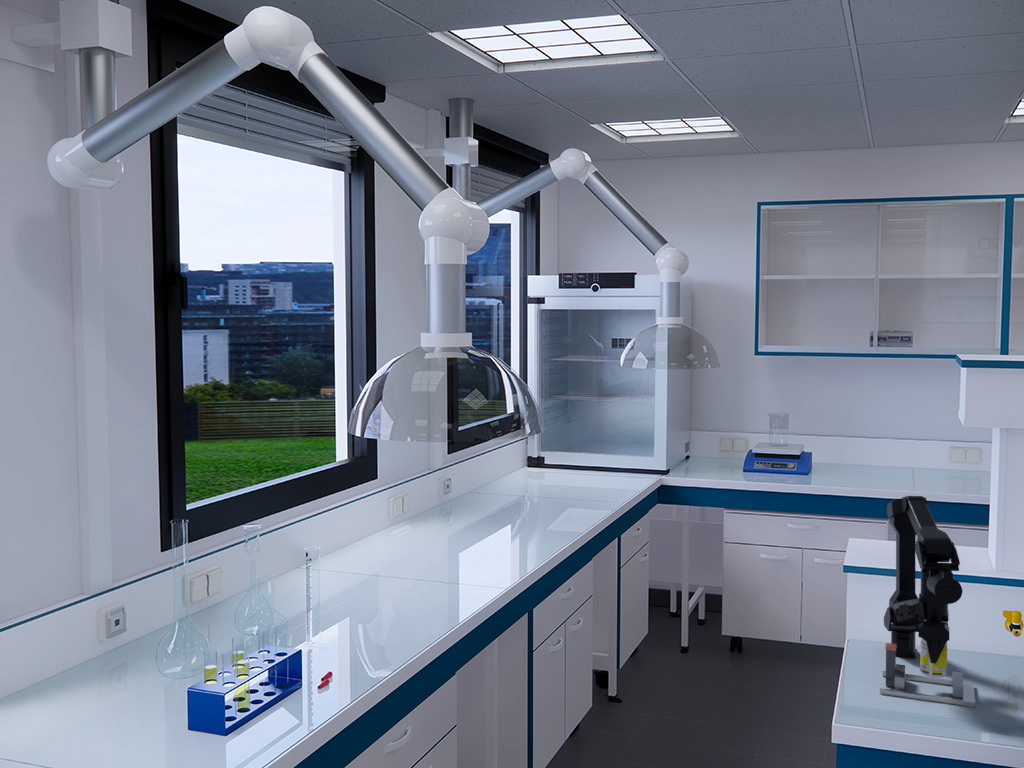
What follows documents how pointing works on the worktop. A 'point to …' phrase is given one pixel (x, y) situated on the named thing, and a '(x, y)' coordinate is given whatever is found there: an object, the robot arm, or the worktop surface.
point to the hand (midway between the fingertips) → (933, 658)
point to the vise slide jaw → (894, 669)
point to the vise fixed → (960, 691)
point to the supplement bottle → (932, 668)
